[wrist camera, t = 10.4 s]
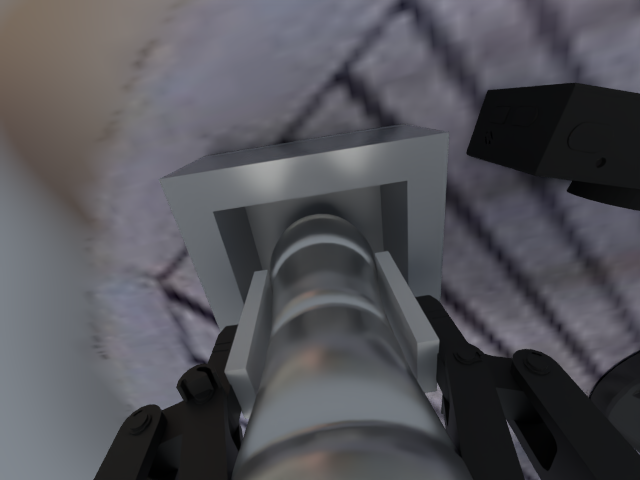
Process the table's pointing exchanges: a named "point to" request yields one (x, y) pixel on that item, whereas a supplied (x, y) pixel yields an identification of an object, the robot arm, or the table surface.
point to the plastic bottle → (338, 373)
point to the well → (313, 205)
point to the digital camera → (566, 138)
